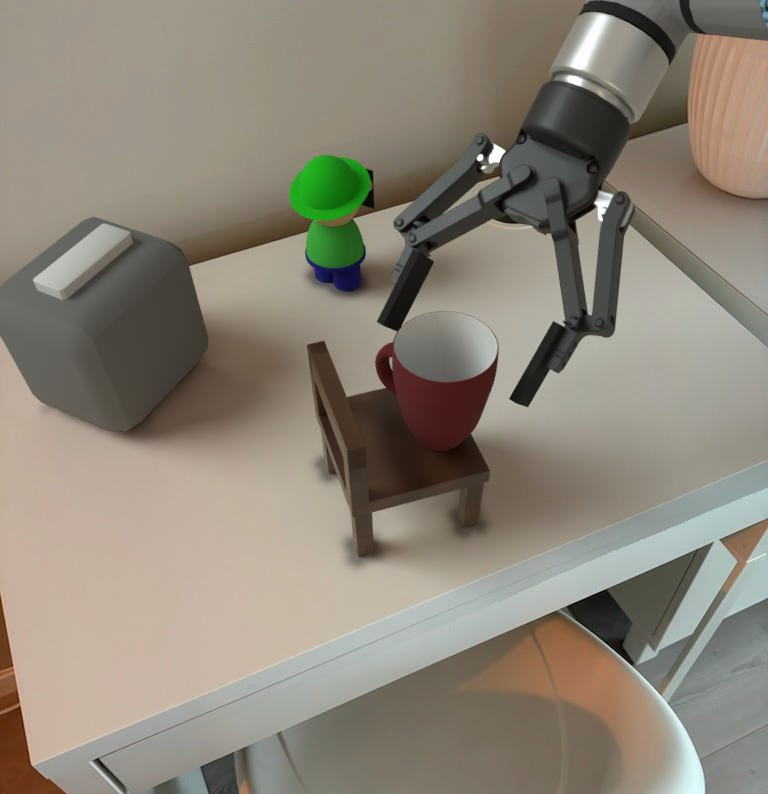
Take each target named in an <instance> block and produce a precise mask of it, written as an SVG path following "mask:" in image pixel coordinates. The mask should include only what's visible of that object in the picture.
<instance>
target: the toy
mask: <svg viewBox="0 0 768 794" xmlns="http://www.w3.org/2000/svg"><path fill="white" fill-rule="evenodd" d="M374 188H375V186H374V170H372V169H369V168H366V167H365V166H364V165H363V164H362V163H360V161H357V160H355V159H352V158H349V157H345V156H336V155H332V154H321V155H317V156H316V157H314V158H312V159H310V160H309V161H308V162H307V163H306V164H305V165H304V167H303V169H302V170H300V171H299V172H298V173H297V175H296V176H295V177H294V179H293V180H292V182H291V184H290V187H289V193H288V194H289V195H288V196H289V198H288V199H289V202H290V204H291V206H292V208H293V210H294V211H295V212H296V213H297V214H299V215H300V216H301V217H303V218H305V219H308V220H312V221H311V224H310V225H309V228H308V231H307V234H306V241H305V249H304V255H305V260H306V262H307V264H308V265H309V266H311V267H312V268H313V271H314V278H315V279H316V280H317V281H319V282H320V283H325V284H330V283H333V286H334V288H335V289H337V290H338V291H341V292H353V291H356V290H357V289H359V288H360V287H361V285H362V272H361V270H362V269H361V268H362V267H361V264H362V263H363V262H364V261H365V259H366V256H367V247H366V245H365V243H364V240H363V236H362V232H361V230H360V228H359V226H358V224H357V223H356V221H355V220H354V217H355V216H356V215H357V214H358V211H359V210H360V206H363V207H367V208H370V209H373V210H375V189H374Z"/></svg>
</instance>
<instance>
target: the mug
mask: <svg viewBox="0 0 768 794" xmlns="http://www.w3.org/2000/svg"><path fill="white" fill-rule="evenodd" d="M499 351H500V347H499V340H498V338H497V336H496V335H495V333H494V331H493V330H492V329H491V327H490V326H489V325H487V324H486V323H485V322H483V321H482V320H480V319H479V318H477V317H474V316H472V315H469V314H466V313H462V312H457V311H450V310H439V311H431V312H426V313H422V314H420V315H417V316H415V317H412V318H410V319H409V320H408V321H406V322H405V323H403V324H402V326H401V328H400V329H399V330H398V331H396V333H395V335H394V337H393V340H392V342H388V343H386V344H384V345H383V346H382V347H381V348H380V349H379V350H378V351H377V353H376V356H375V359H374V366H375V372H376V375H377V377H378V379H379V381H380V382H381V384H382V385H383V386H384V388H387V389H388V390H389V391H391V392H392V393H393V394H395V395H397V396H398V400H399V404H400V408H401V412H402V416H403V419H404V421H405V424H406V426H407V427H408V429H409V430H410V432H411V433H412V434H413V435H414V437H415V438H416V439H417V440H418V441H419V442H420V443H421V444H422V445H423V446H425V447H426V448H428V449H430V450H434V451H447V450H450V449H453V448H455V447H456V446H458V445H459V444H460V443H461V442H462V441H464V440H465V439H466V438H467V437H468V436H469V435H470V434H472V432H474V431H475V429H476V428H477V426H478V425H479V423H480V420H481V417H482V415H483V413H484V410H485V408H486V405H487V402H488V399H489V397H490V395H491V392H492V389H493V387H494V384H495V380H496V375H497V371H498V370H497V369H498V361H499ZM390 358H391V363H392V364H391V363H390Z"/></svg>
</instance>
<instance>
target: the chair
mask: <svg viewBox="0 0 768 794" xmlns="http://www.w3.org/2000/svg"><path fill="white" fill-rule="evenodd" d="M306 350H307V358H308V365H309V373H310V381H311V388H312V398H313V403H314V404H313V405H314V411H315V417H316V420H317V423H318V426H319V427H320V428H319V429H320V433H321V442H322V450H323V458H324V464H325V467H326V470H327V473H328V474H329V475H330V474H334V473H336V476H337V479H338V481H339V484H340V488H341V491H342V492H343V495H344V498H345V500H346V503H347V506H348V509H349V512H350V520H351V530H352V541H353V542H352V543H353V546H354V549H355V552H356V555H357V557H358V558H360V557H364V556H367V555H371V554H374V553H375V545H374V526H373V525H374V523H373V513H377V512H380V511H383V510H387V509H391V508H394V507H399V506H402V505H405V504H409V503H414V502H417V501H420V500H425V499H429V498H433V497H437V496H439V495H443V494H447V493H452V492H455V491H458V490H459V499H458V508H457V509H458V510H457V518H458V521H459V522H460V525H461V526H462V528H463V529H466V528H468V527H469V528H470V527H473V526H477V525H479V522H480V521H479V520H480V516H481V508H482V502H483V501H482V500H483V494H484V488H485V483H488V482H489V481H490V474H491V469H490V467H489V465H488V463H487V461H486V459H485V458H484V456H483V454H482V452H481V450H480V448H479V446H478V444H477V442H476V440H475V439H474V437H473V435H472V433H471V434H470V435H469V436H468V437H467V438H466V439H465V440H464V441H462V442H461V443H460V444H459V445H458V446H456V447H455V448H453V449H450V450H447V451H434V450H430V449H428V448H426V447H425V446H423V445H422V444H421V443H420V442H419V441H418V440H417V439H416V438H415V437H414V435H413V434H412V433H411V432H410V430H409V429H408V427H407V426H406V424H405V421H404V419H403V416H402V412H401V408H400V404H399V400H398V396H397V395H395V394H393V393H392V392H391V391H389V390H388V389H387V388H386V387H382V388H379V389H374V390H370V391H366V392H362V393H358V394H353V395H349V396H347V394H346V392H345V391H346V390H345V389H344V387H343V384H342V381H341V378H340V376H339V374H338V372H337V370H336V366H335V365H334V362H333V359H332V357H331V354H330V351H329V349H328V347H327V344H326V342H325V340H320V341H316V342H311V343H307V344H306Z"/></svg>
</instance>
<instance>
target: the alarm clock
mask: <svg viewBox="0 0 768 794" xmlns="http://www.w3.org/2000/svg"><path fill="white" fill-rule="evenodd" d="M0 338H1V341H2V342H3V344H4V345H5V347H6V349H7V351H8V353H9V355H10V356H11V358H12V360H13V361H14V364H15V365H16V367H17V369H18V371H19V372H20V374H21V376H22V378H23V380H24V381H25V383H26V385H27V386H28V389H29V390H30V392H31V394H32V396H34V398H36V399H37V400H38V401H39V402H40V403H42V404H45V405H47V406H49V407H51V408H54V409H56V410H59V411H61V412H62V413H64V414H65V413H66V414H68V415H70V416H72V417H74V418H77V419H80V420H81V421H84V422H86V423H89V424H91V425H93V426H96V427H98V428H101V429H102V430H105V431H111V432H127V431H129V430H130V429H132V428H134V427H135V426H137V425H138V424H140V423H141V422H142V421H143V420H144V419H145V418H146V417H147V416H149V414H150V413H151V412H152V411H153V410H154V409H155V408H156V406H158V405H159V403H160V402H161V401H162V400H163V399H164V398H165V397H167V395H168V394H169V393H170V392H171V391H172V390H173V389H174V388H175V387H176V386H177V384H179V382H180V381H182V380H183V378H184V377H185V376H186V375H187V374H188V373H189V372H190V371H191V370H192V369H193V368H194V366H196V365H197V364H198V363H199V361H200V360H201V359H202V358H204V356H205V355H206V353H207V350H208V348H209V335H208V332H207V327H206V324H205V319H204V317H203V312H202V309H201V305H200V302H199V297H198V293H197V291H196V286H195V283H194V279H193V275H192V272H191V267H190V264H189V260H188V258H187V256H186V254H185V253H184V251H183V249H182V248H180V247H179V246H178V245H176V244H175V243H173V242H171V241H168V240H166V239H164V238H161V237H157V236H156V235H155V236H154V235H151V234H148V233H145V232H142V231H140V230H137V229H133V228H130V227H127V226H124V225H121V224H118V223H114V222H112V221H109V220H106V219H103V218H101V217H96V216H91V217H89V218H85V219H84V220H82V221H81V222H79V223H78V224H77V225H75V226H74V227H73V228H72V229H70V230H69V231H68V232H65V234H64V235H63V236H61V237H60V238H59V239H57V240H56V241H55V242H54V243H52V244H51V245H50V246H48V247H47V248H46V249H45V250H43V251H42V252H41V253H39V254H38V255H37V256H36V257H34V258H33V259H32V260H31V261H29V262H28V263H26V264H25V265H24V266H23V267H22V268H20V269H19V270H18V271H16V272H15V273H14V274H12V275H11V276H10V277H9V278H8V279H6V280H5V281H4V282H3V283H2V284H1V286H0Z"/></svg>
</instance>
